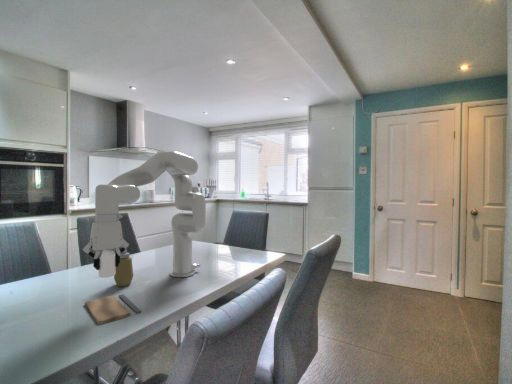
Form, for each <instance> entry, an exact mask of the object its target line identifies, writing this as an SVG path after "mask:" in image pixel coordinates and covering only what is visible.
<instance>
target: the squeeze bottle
mask: <svg viewBox="0 0 512 384" xmlns="http://www.w3.org/2000/svg"><path fill="white" fill-rule="evenodd" d="M127 251H128V250H127V248H126V249H125V250H124V251H123V252H122V253H121V255H120V263H119V266H118V267H115V268H116V274H115V275H114V276H113V279H114V282H115V285H116V286H117V287H126V286H129V285H131V283H132V280H133V278H134V269H133V260H132V259H133V258H132V257H130V252H127Z"/></svg>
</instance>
